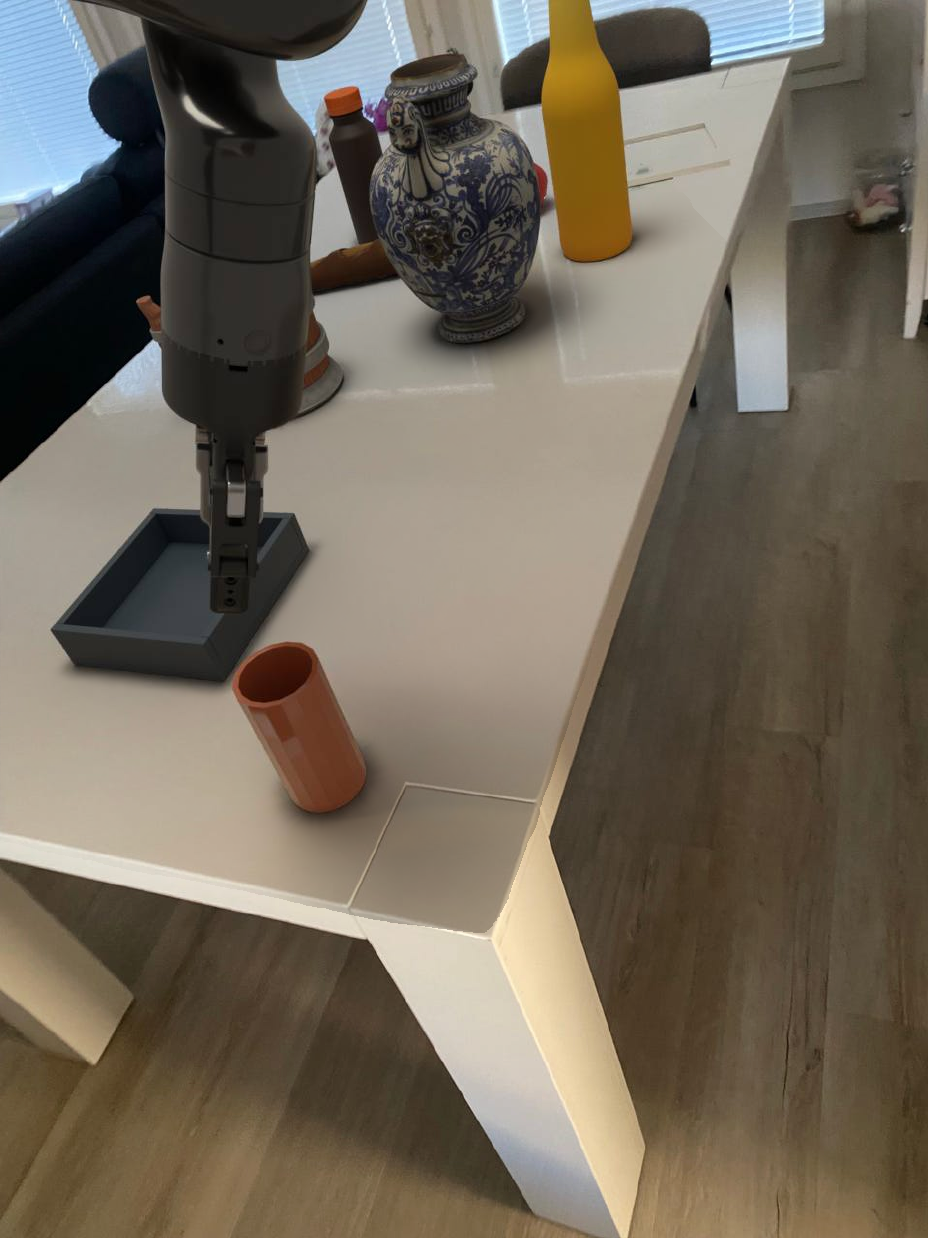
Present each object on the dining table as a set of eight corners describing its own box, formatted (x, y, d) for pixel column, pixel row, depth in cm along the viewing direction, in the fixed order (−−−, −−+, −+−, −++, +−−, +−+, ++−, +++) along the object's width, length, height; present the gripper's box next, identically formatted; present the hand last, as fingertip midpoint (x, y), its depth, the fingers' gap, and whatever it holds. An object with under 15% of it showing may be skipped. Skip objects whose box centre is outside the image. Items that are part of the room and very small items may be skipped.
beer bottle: (587, 269, 119) (554, 2, 100) (548, 251, 126) (509, -3, 106) (648, 242, 121) (626, -25, 102) (606, 225, 128) (578, -28, 109)
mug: (340, 410, 106) (296, 281, 96) (177, 444, 108) (117, 322, 98) (347, 351, 116) (308, 230, 106) (198, 384, 119) (146, 268, 109)
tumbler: (347, 818, 64) (294, 711, 57) (276, 806, 66) (216, 702, 59) (378, 753, 68) (332, 645, 61) (310, 744, 70) (257, 638, 63)
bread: (519, 238, 131) (513, 201, 128) (522, 253, 127) (515, 215, 124) (256, 296, 136) (243, 262, 133) (251, 311, 132) (238, 277, 129)
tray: (223, 681, 77) (203, 644, 74) (74, 664, 83) (49, 629, 80) (309, 549, 88) (294, 512, 85) (171, 542, 94) (153, 507, 91)
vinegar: (365, 231, 145) (325, 88, 132) (407, 225, 144) (371, 80, 130) (353, 250, 141) (310, 104, 128) (396, 244, 139) (357, 95, 126)
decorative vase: (434, 287, 125) (376, 48, 106) (573, 275, 119) (537, 19, 100) (381, 372, 111) (304, 113, 92) (536, 363, 104) (486, 84, 86)
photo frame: (624, 179, 135) (611, 139, 148) (625, 187, 136) (612, 147, 149) (730, 156, 133) (707, 118, 146) (730, 165, 134) (707, 126, 147)
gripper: (162, 261, 54) (165, 499, 64) (158, 381, 44) (162, 642, 54) (296, 275, 56) (278, 503, 66) (321, 393, 46) (296, 641, 56)
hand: (226, 565), depth 60 cm, fingers open, 8 cm apart
